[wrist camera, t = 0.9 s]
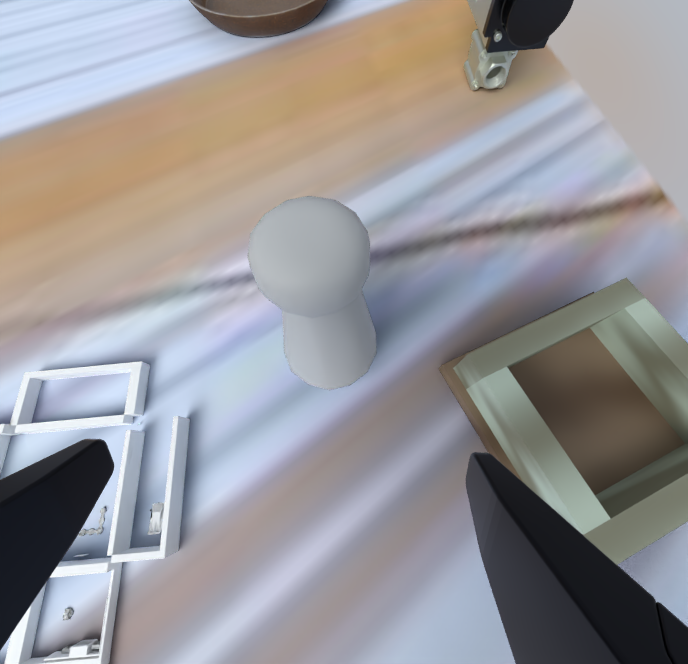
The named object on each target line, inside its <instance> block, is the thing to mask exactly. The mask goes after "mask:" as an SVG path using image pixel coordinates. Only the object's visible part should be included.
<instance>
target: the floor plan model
mask: <svg viewBox="0 0 688 664" xmlns="http://www.w3.org/2000/svg"><path fill="white" fill-rule="evenodd" d="M149 370H150V365H149V364H146V363H144V362H142V361H141V362H131V363H120V364H110V365H99V366H89V367H78V368H68V369H57V370H47V371H36V372H26V373H24V376H23V379H22V383H21V386H20V390H19V394H18V397H17V401H16V404H15V408H14V411H13V415H12V418H11V422H10V424H0V475H1V471H2V467H3V464H4V460H5V457H6V453H7V449H8V446H9V442H10V439H11V436H12V435H21V434H22V433H23V434H33V433H44V432H54V431H65V430H76V429H86V428H97V427H108V426H118V425H129V424H133V417H134V416H143V413H144V406H145V398H146V391H147V384H148V377H149ZM129 372H131V374H130V380H129V386H128V393H127V399H126V405H125V411H124V415H115V416H105V417H94V418H84V419H73V420H62V421H52V422H41V423H31V422H32V418H33V414H34V411H35V407H36V403H37V399H38V395H39V392H40V388H41V384H42V381H45V380H55V379H66V378H76V377H87V376H97V375H108V374H118V373H129ZM189 424H190V419H188V418H184V417H180V416H175V417H173V428H172V437H171V447H170V456H169V466H168V476H167V485H166V495H165V503H162V502H161V503H155V504H154V503H153V505H152V506H153V508H152V509H151V510H152V513H151V519H150V520H151V522H150V525H149V531H148V534H149V535H152V534H159V533H161V532H162V533H161V543H160V546H150V547H139V548H130V542H131V535H132V527H133V520H134V513H135V505H136V498H137V490H138V483H139V475H140V468H141V460H142V453H143V446H144V438H145V432H143V431H135V430H126V435H125V441H124V448H123V454H122V461H121V467H120V474H119V480H118V487H117V493H116V499H115V506H114V512H113V519H112V525H111V532H110V538H109V545H108V551H107V556H109V555H112V557H107V558H96V559H85V560H74V561H63V562H60V563H59V564H58V566H57V567H56V569H55V570H54V572H53V573H52V575H51V576H50V578H52V577H63V576H74V575H85V574H96V573H107V572H109V571H111V570H112V572H111V579H110V585H109V592H108V597H107V600H106V607H105V614H104V621H103V627H102V634H101V641H98V639H92V640H81V641H79V642H78V643H76V644H75V645H73V646H70V645H69V646H66V648H63V649H62V651H56V652H54V653H52V654H51V655H49V656H48V657H38V658H31V654H32V650H33V645H34V640H35V635H36V630H37V626H38V621H39V616H40V611H41V606H42V602H43V597H44V592H45V587H46V583H45V585H44V586H43V588H42V589H41V591H40V592H39V594H38V595H37V597H36V598H35V600H34V601H33V603H32V604H31V606H30V607H29V609H28V610H27V612H26V613H25V615H24V616H23V618H22V619H21V621H20V622H19V624H18V625H17V627H16V628H15V630H14V631H13V632H12V634H11V637H10V642H9V646H8V650H7V655H6V659H5V664H109V661H110V651H111V644H112V637H113V629H114V622H115V615H116V608H117V601H118V593H119V586H120V579H121V572H122V565H123V562H128V561H139V560H150V559H161V558H166V557H168V556H170V555H172V554H174V553H176V552H177V551H179V539H180V528H181V516H182V505H183V493H184V482H185V470H186V459H187V447H188V436H189ZM138 425H140V424H138ZM93 508H94V507H93ZM151 510H150V511H151ZM105 512H106V508H102V509H101V511H100V513H101V517H100V519H99V528H98V529H97V530H94V529H93V528H92V529H90V530H88V531H86V530H85V529H83V530H81V531H80V533H79V536H83V535H85V534H89V535H92V534H94V533H97V535H99V534H101V533H102V532H103V528H102V525H103V523H104V521H105V519H104V514H105ZM162 520H163V521H162ZM151 530H152V531H151ZM85 555H88V554H82V555H76V556H73V557H79V556H85ZM73 612H74V611H72V609H71V608H68V609H65V613H64V615H63V620H68V619H70V618H71V615H72V614H73Z"/></svg>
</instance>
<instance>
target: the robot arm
mask: <svg viewBox="0 0 688 664" xmlns="http://www.w3.org/2000/svg"><path fill="white" fill-rule="evenodd" d="M113 470H114V462H113V459H112V457H111V454H110V452H109V449H108V446H107V444H106V442H105V441H104V440H101V439H84V440H82V441H80V442H77V443H75V444H73V445H71V446H69V447H67V448H65V449H63V450H61V451H59V452H57V453H55V454H53V455H51V456H49V457H47V458H44V459H42V460H40V461H38V462H36V463H34V464H32V465H30V466H28V467H26V468H24V469H22V470H20V471H18V472H16V473H14V474H11V475H9V476H7V477H5V478H3V479H1V480H0V650H1V649H2V647H3V646H4V644H5V643H6V641H7V640H8V638H9V637H10V635H11V634H12V632H13V631H14V630H15V628H16V627H17V625H18V624H19V622H20V621H21V619H22V618H23V616H24V615H25V613H26V612H27V610H28V609H29V607H30V606H31V604H32V603H33V601H34V600H35V598H36V597H37V595H38V594H39V592H40V591H41V589H42V588H43V586H44V585H45V583H46V582H47V581H48V579H49V578H50V576H51V575H52V573H53V572H54V570H55V569H56V567H57V566H58V564H59V563H60V561H61V560H62V558H63V557H64V555H65V554H66V552H67V551H68V549H69V548H70V546H71V545H72V543H73V542H74V540H75V539H76V537H77V535H78V534H79V532H80V530H81V529H82V527H83V525H84V523H85V522H86V520H87V518H88V516H89V514H90V513H91V511H92V509H93V507H94V506H95V504H96V502H97V500H98V498H99V497H100V495H101V493H102V491H103V490H104V488H105V486H106V484H107V482H108V481H109V479H110V477H111V475H112V473H113ZM466 489H467V494H468V498H469V503H470V507H471V512H472V517H473V521H474V526H475V530H476V535H477V540H478V544H479V548H480V553H481V557H482V560H483V564H484V567H485V570H486V573H487V576H488V580H489V583H490V586H491V589H492V592H493V595H494V598H495V601H496V604H497V607H498V610H499V613H500V617H501V620H502V623H503V626H504V629H505V632H506V635H507V638H508V641H509V644H510V647H511V650H512V653H513V657H514V660H515V663H516V664H688V627H687V626H686V625H685V624H684V623H683V622H681V621H680V620H679V619H678V618H677V617H676V616H675V615H673V614H672V613H671V612H670V611H669V610H668V609H667V608H666V607H664V606H663V605H662V604H661V603H658V602H657V603H656V601H655V599H654V597H653V596H652V595H651V594H649V593H648V592H647V591H646V590H645V589H644V588H643V587H641V586H640V585H639V584H638V583H637V582H636V581H635V580H634V579H632V578H631V577H630V576H629V575H628V574H627V573H626V572H624V571H623V570H622V569H621V568H620V567H619V566H618V565H616V564H615V563H614V562H613V561H612V560H611V559H610V558H609V557H607V556H606V555H605V554H604V553H603V552H602V551H601V550H599V549H598V548H597V547H596V546H595V545H594V544H593V543H592V542H590V541H589V540H588V539H587V538H586V537H585V536H584V535H582V534H581V533H580V532H579V531H578V530H577V529H576V528H574V527H573V526H572V525H571V524H570V523H569V522H568V521H567V520H565V519H564V518H563V517H562V516H561V515H560V514H559V513H557V512H556V511H555V510H554V509H553V508H552V507H551V506H550V505H548V504H547V503H546V502H545V501H544V500H543V499H542V498H540V497H539V496H538V495H537V494H536V493H535V492H534V491H533V490H531V489H530V488H529V487H528V486H527V485H526V484H525V483H523V482H522V481H521V480H520V479H519V478H518V477H517V476H515V475H514V474H513V473H512V472H511V471H510V470H509V469H508V468H506V467H505V466H504V465H503V464H502V463H501V462H500V461H498V460H497V459H496V458H495V457H494V456H493V455H491V454H490V453H477V452H474V453H472V454H471V456H470V459H469V464H468V469H467V474H466Z"/></svg>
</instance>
